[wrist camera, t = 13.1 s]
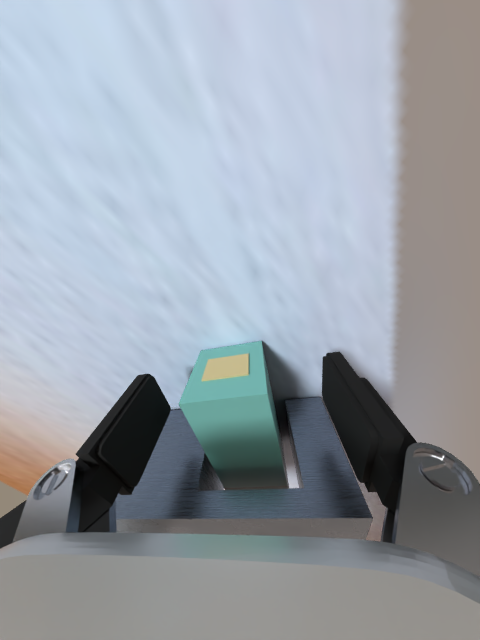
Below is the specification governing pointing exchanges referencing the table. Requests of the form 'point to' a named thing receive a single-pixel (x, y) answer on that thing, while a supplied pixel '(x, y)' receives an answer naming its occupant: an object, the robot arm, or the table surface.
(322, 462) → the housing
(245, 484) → the plug
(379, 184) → the table surface
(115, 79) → the table surface
